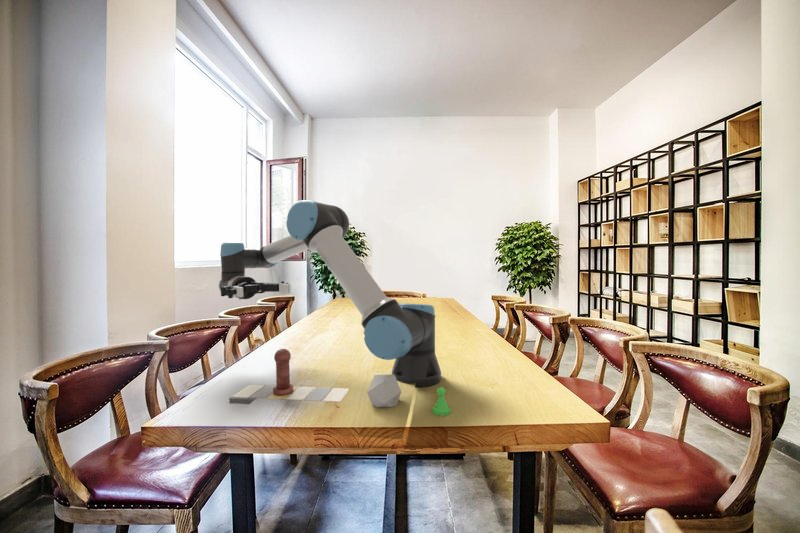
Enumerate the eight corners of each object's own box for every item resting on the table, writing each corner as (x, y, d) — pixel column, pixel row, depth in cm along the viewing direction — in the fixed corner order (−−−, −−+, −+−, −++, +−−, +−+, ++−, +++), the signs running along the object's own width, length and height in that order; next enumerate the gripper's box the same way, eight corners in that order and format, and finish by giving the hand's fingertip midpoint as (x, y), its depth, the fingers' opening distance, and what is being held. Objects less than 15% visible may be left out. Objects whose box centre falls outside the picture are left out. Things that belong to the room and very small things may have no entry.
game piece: (440, 417, 79) (440, 391, 79) (428, 410, 83) (428, 386, 82) (454, 412, 82) (454, 387, 82) (441, 406, 85) (441, 382, 85)
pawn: (296, 388, 95) (295, 346, 94) (287, 396, 90) (286, 351, 89) (278, 388, 95) (278, 346, 95) (269, 395, 90) (268, 351, 90)
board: (351, 391, 95) (351, 387, 95) (340, 407, 85) (340, 402, 85) (250, 387, 99) (250, 383, 99) (229, 402, 89) (229, 397, 89)
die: (389, 421, 79) (409, 383, 82) (357, 400, 80) (379, 364, 83) (389, 418, 87) (408, 383, 90) (361, 399, 88) (380, 366, 91)
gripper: (279, 295, 123) (306, 299, 108) (200, 302, 107) (219, 308, 91) (278, 274, 123) (305, 275, 107) (200, 278, 106) (219, 279, 91)
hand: (266, 290), depth 99 cm, fingers open, 13 cm apart
